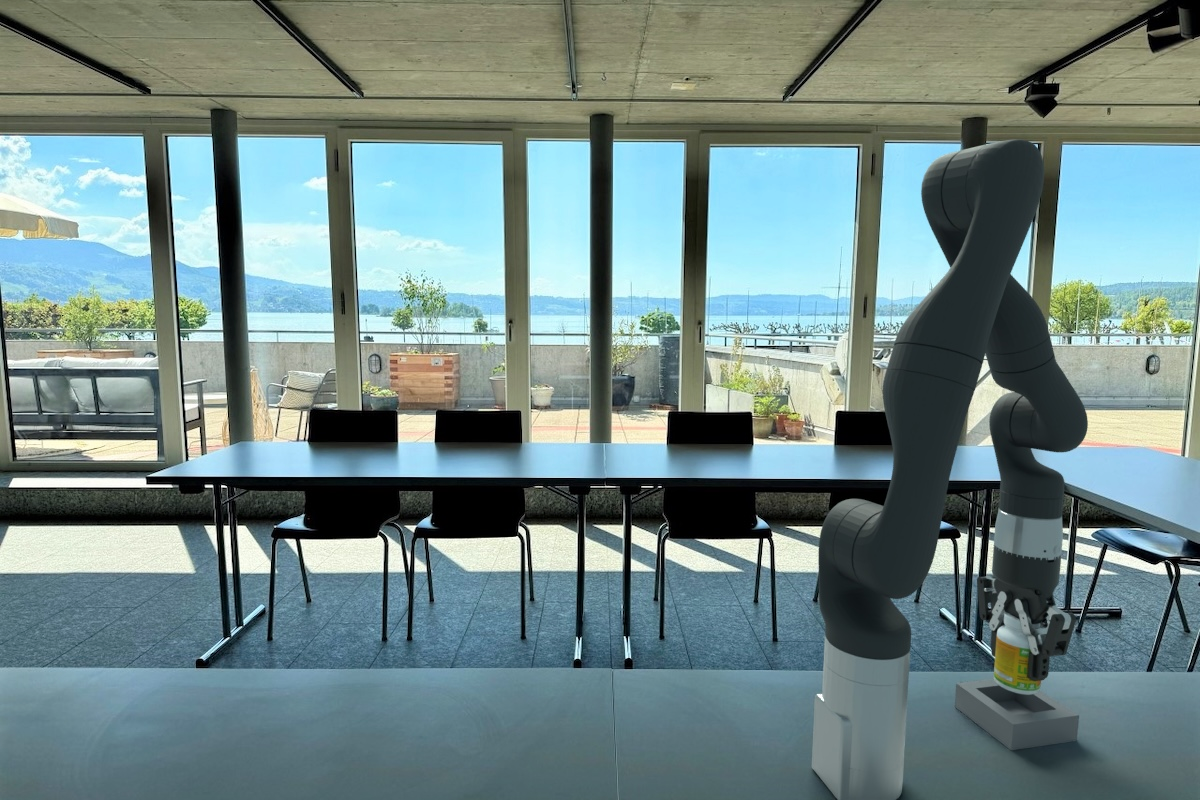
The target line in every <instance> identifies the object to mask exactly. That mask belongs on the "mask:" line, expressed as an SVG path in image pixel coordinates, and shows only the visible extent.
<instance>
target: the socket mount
mask: <svg viewBox="0 0 1200 800" xmlns="http://www.w3.org/2000/svg"><path fill="white" fill-rule="evenodd" d="M954 694H955V697H954V707H955V709H957V710H958V711H960V713H962V714H963V715H965V716H966V717H967V718H968V719H970V720H971V721H972V722H974V723H975V725H978V727H980V728H981V729H983V730H984V731H986V732H987V734H988V735H989V734H990V735H991V736H992V737H993V738H994V739H996V740H997V741H998V742H999V743H1001V744H1003V746H1005V747H1006V748H1007V749H1009V750H1010V751H1016V750H1022V749H1029V748H1037V747H1044V746H1048V745H1051V746H1052V745H1057V744H1063V743H1069V742H1070V743H1071V742H1077V741H1078V734H1079V730H1078V729H1079V721H1080V715H1079V714H1078V713H1076V712H1075V711H1074V710H1072V709H1070V708H1069V707H1067V706H1066V705H1064V704H1062V703H1060V702H1059V701H1057V700H1056V699H1055V698H1053V697H1051V696H1050V695H1048V694H1047V693H1045V692H1043V691H1042V690H1040V691H1039V692H1038V693H1035V694H1031V695H1025V694H1019V693H1015V692H1012V691H1009V690H1006V689H1004V688H1003V687H1001V686H999V685H998V684H997V683H996V682H995V680H994V678H989V679H988V678H987V679H981V680H972V681H964V682H962V681H961V682H956V683H955V693H954Z"/></svg>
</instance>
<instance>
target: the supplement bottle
mask: <svg viewBox="0 0 1200 800" xmlns="http://www.w3.org/2000/svg"><path fill="white" fill-rule="evenodd" d="M1004 624H1005V625H1003V626H1001V627H999V629H998V631H997V637H996V652H995V657H994V667H993V679H994V680H995V682H996V683H997V684H998V685H999V686H1001V687H1003V688H1004V689H1006V690H1009V691H1012V692H1015V693H1019V694H1025V695H1031V694H1035V693H1038V692H1039V691H1041V685H1042V680H1041V681H1032V680H1030V679H1029V678H1028V677H1027V671H1028V659H1029V652H1031V650H1030V645H1029V641H1028V637H1027V636H1026V635H1025V634H1024V633H1023V630H1022V626H1021V621H1020V619H1018V618H1016V617H1014V616H1013V615H1011V614H1009V613H1007V612H1005V613H1004ZM1032 627H1033V628H1039V627H1040V623H1039V624H1033V625H1032ZM1038 640H1039V644H1042V641H1041V637H1040V635H1038Z"/></svg>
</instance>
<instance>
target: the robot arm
mask: <svg viewBox="0 0 1200 800" xmlns="http://www.w3.org/2000/svg"><path fill="white" fill-rule="evenodd" d="M1043 159H1044V158H1043V156H1042V154H1041V151H1040V149H1039V148H1038V147H1037V146H1036V144H1035V143H1033V142H1032V141H1029V140H1027V139H1023V138H1022V139H1020V138H1019V139H1018V138H1017V139H1015V138H1014V139H1007V140H1001V141H1000V140H999V141H996V142H991V143H986V144H983V145H977V146H974V147H970V148H964V149H960V150H957V151H952V152H948V153H946V154H943V155H941V156H938V157H937V158H936V159H934V160H933V161H932V162H931V163H930V164H929V166H928V167H927V169H926V170H925V172H924V175H923V179H922V182H921V188H920V189H921V193H920V194H921V203H922V207H923V211H924V214H925V217H926V220H927V222H928V225H929V226H930V227H929V228H930V229H931V231H932V233H933V236H934V238H935V239H936V240H937V243H938V245H939V247H940V249H941V251H942V253H943V255H944V257H945V259H946V262H947V264H948V266H949V267H950V268H949V269H948V271H947V272H946V274H944V276H943V277H942V278H941V279H940V280H939V282H937V284H936V285H935V286H934V287H933V288H932V289H931V290H930V292H928V293H927V295H926V296H924V298H923V299H922V300H921V301H920V302H919V304H918V305H916V307H915V308H914V309H913V310H912V312H911V313H910V314H909V315H908V316H907V318H906V319H905V321H904V322H903V324H902V325H901V327H900V328H899V330H898V332H897V334H896V338H895V340H894V343H893V346H892V349H891V353H890V356H889V360H888V363H887V366H886V370H885V373H884V378H883V382H882V400H883V409H884V413H885V417H886V421H887V422H886V423H887V427H888V431H889V435H890V439H891V440H890V441H891V446H892V452H893V453H892V454H893V458H892V459H893V461H892V463H893V464H892V470H891V471H892V474H891V476H890V477H891V478H890V483H889V486H888V491H887V494H886V498H885V501H884V504H883V505H881V504H878V503H877V502H876V503H875V502H872V501H869V500H867V499H866V500H865V499H862V498H849V499H845V500H842V501H840V502H837V504H836V505H834V506H833V507H832V508H831V510H829V512H828V514H827V515H826V517H825V519H824V521H823V524H822V525H821V526H822V527H821V530H820V535H819V541H818V556H817V557H818V558H817V559H818V561H817V562H818V563H817V564H818V605H819V609H820V613H821V616H822V618H823V621H824V647H823V648H824V649H823V669H822V687H821V688H822V690H821V691H822V692H821V693H816V694H815V696H814V708H813V711H814V712H813V729H812V731H813V733H812V752H811V753H812V754H811V757H812V758H811V768H812V769H813V771H814V772H815V773H816V775H817V776H818V777H819V779H820V780H821V781H822V782H823V784H824V785H825V786H826V787H827V788H828V790H829V791H830V792H831V794H833V796H834V797H835V798H836V799H837V800H898V799H899V797H900V796H901V794H902V791H903V781H904V763H905V747H906V746H905V743H906V731H907V730H906V729H907V726H906V725H907V715H908V714H907V713H908V711H907V709H908V693H909V679H910V678H909V677H910V663H911V662H910V659H911V645H912V628H911V625H910V622H909V621H908V619H907V618H906V616H905V615H904V614H903V613H902V611H900V610H899V608H898V607H897V606H896V605H895V603H894V602H893V599H894V600H901V599H904V598H908V597H909V596H911V595H912V594H914V593H916V591H917V590H918V589H919V588H920V587H921V586H922V585H923V583H924V582H925V580H926V578H927V576H928V575H929V572H930V569H931V567H932V564H933V562H934V559H935V554H936V550H937V546H938V541H939V535H940V532H941V531H940V530H941V526H942V520H943V513H944V508H945V503H946V497H947V492H948V487H949V483H950V478H951V472H952V469H953V465H954V460H955V458H956V453H957V450H958V446H959V442H960V438H961V435H962V432H963V427H964V423H965V421H966V416H967V414H968V411H969V408H970V406H971V402H972V399H973V397H974V394H975V390H976V388H977V384H978V380H979V378H980V374H981V371H982V367H983V364H984V361H985V358H986V361H987V364H988V368H989V371H990V375H991V377H992V380H993V382H995V384H996V385H997V386H999V387H1000V388H1002V389H1005V390H1008V391H1009V392H1007V393H1005V394H1003V395H1002V396H1000V397H999V398H998V399H997V400H996V401H995V403H994V404H993V406H992V408H991V411H990V415H989V419H988V422H989V432H990V433H989V434H990V438H991V442H992V446H993V450H994V454H995V458H996V459H995V460H996V464H997V468H998V472H999V477H1000V485H999V500H998V501H999V503H998V511H997V516H996V520H995V527H994V539H993V550H992V551H993V552H992V564H991V565H992V566H991V574H992V575H989V576H979V577H977V578H976V586H977V597H978V598H977V600H978V610H979V614H978V615H979V618H980V620H982V621H986V623H988V626H989V629H990V630H991V632H990V633H991V634H990V645H989V646H990V651H991V656H992V657H993V658H995V652H996V637H997V631H998V629H999V627H1001V626H1003V625H1005V624H1004V613H1005V612H1007V613H1009V614H1011V615H1013V616H1014V617H1016V618H1018V619H1020V621H1021V626H1022V630H1023V633H1024V634H1025V635H1026V636H1027V637H1028V641H1029V645H1030V650H1031V652H1029V659H1028V671H1027V677H1028V678H1029V679H1030V680H1032V681H1041V682H1042V681H1045V679H1047V678H1048V676H1049V672H1050V671H1049V669H1050V659H1051V657H1054V656H1055V657H1056V656H1065V655H1067V653H1068V648H1069V646H1070V641H1071V640H1072V639H1071V638H1072V635H1073V632H1074V629H1075V626H1076V622H1077V616H1076V615H1075V614H1074V613H1073V612H1065V611H1063V610H1062V609H1060V608H1059V607H1057V606H1056V605H1057V604H1056V601H1055V598H1054V592H1055V590H1056V589H1057V587H1058V585H1059V583H1060V575H1061V566H1062V565H1061V563H1062V551H1063V540H1064V539H1063V537H1064V528H1063V508H1064V499H1065V498H1064V497H1065V485H1066V484H1065V478H1064V476H1063V474H1062V473H1060V472H1059V471H1058V470H1055V469H1054V468H1051V467H1049V466H1047V465H1045V464H1042V463H1040V462H1039V461H1038V460H1037V459H1036V458H1035V456H1034V453H1033V451H1032V449H1033V450H1034V449H1035V450H1040V451H1045V452H1051V453H1068V452H1071V451H1073V450H1075V449H1077V448H1078V447H1079V446H1080V445H1081V444H1082V442H1083V441H1084V440H1085V438H1086V435H1087V433H1088V428H1089V427H1088V426H1089V425H1088V424H1089V423H1088V422H1089V421H1088V414H1087V411H1086V409H1085V405H1084V404H1083V400H1082V399H1081V398H1080V396H1079V395H1078V393H1077V391H1076V390H1075V388H1074V387H1073V385H1072V384H1071V382H1070V380H1069V379H1068V378H1067V376H1066V374H1065V371H1063V369H1062V368H1061V367H1060V365H1059V364H1058V362H1057V359H1056V355H1055V351H1054V348H1053V343H1052V340H1051V334H1050V331H1049V326H1048V323H1047V320H1046V318H1045V316H1044V314H1043V311H1042V309H1041V308H1040V306H1039V305H1038V302H1036V300H1035V299H1034V298H1033V296H1032V295H1031V294H1030V293H1029V292H1028V291H1027V290H1026V289H1025V287H1023V286H1022V285H1021V283H1020V282H1019V281H1018V280H1017V279H1016V278H1015V277H1014V276H1013V275H1012V274H1011V273H1012V272H1013V269H1014V266H1015V263H1016V261H1017V260H1018V257H1019V254H1020V251H1021V250H1022V247H1023V245H1024V243H1025V240H1026V239H1027V236H1028V233H1029V230H1030V228H1031V226H1032V223H1033V221H1034V218H1035V216H1036V214H1037V210H1038V207H1039V204H1040V200H1041V198H1042V193H1043V189H1044V181H1045V164H1044V160H1043ZM1010 391H1011V392H1010ZM989 604H990V610H989ZM1033 624H1039V628H1033V627H1032V625H1033ZM1038 635H1040V637H1041V641H1042V644H1039V640H1038Z"/></svg>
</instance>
